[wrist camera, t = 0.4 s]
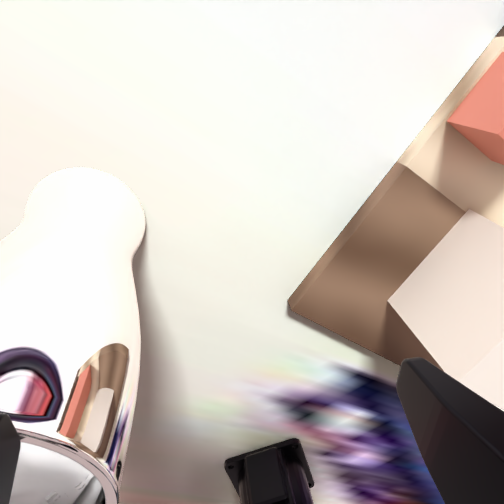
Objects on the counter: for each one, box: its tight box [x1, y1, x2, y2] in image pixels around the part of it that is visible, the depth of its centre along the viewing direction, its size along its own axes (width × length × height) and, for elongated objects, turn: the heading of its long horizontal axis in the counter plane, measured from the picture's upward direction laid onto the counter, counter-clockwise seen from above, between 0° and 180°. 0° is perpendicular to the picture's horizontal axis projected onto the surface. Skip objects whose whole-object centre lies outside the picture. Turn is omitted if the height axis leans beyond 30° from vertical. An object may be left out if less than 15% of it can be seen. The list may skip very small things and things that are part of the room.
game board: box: [288, 26, 504, 371], centre depth 25 cm, size 20×18×3 cm
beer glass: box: [0, 167, 146, 504], centre depth 15 cm, size 7×7×15 cm
